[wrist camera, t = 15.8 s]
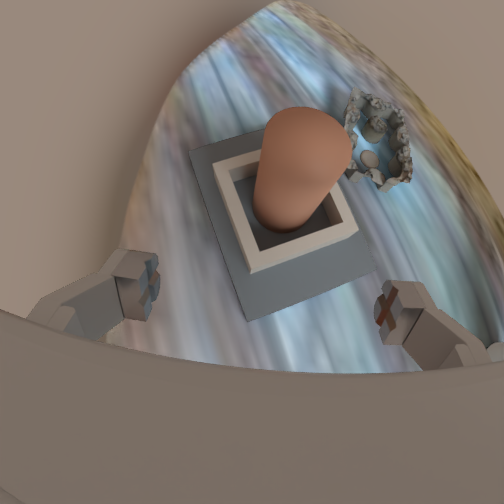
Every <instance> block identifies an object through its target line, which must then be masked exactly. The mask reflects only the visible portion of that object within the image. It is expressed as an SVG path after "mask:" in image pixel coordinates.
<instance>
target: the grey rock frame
mask: <svg viewBox="0 0 504 504" xmlns="http://www.w3.org/2000/svg"><path fill="white" fill-rule="evenodd" d="M359 110H361V111H362V112H363V114H364V116H365V117H366V118H367V119H368V120H367V122H366V124H365V126H364V127H363V129H362V136H363V137H364V139H365V140H366V141H368V142H369V143H372V144H376V143H378V142H379V141H380V139H381V138H382V137H383V136H384V134H385V133H386V132H387V131H388V129H387V125H386V124H385V122H384V121H383V120H381V119H380V118H384V119H386V120H388V123H389V125H390V126H391V127H392V128H393V129H394V130H395V131H394V133H393V134H392V135H391V137H390V138H389V140H388V143H389V146H390V148H391V149H392V150H393V151H394V152H395V153H396V155H395V156H394V157H393V158H392V159H391V160H390V162H389V163H388V168H389V171H390V173H391V174H392V175H393V176H394V177H392V178H389V179H388V180H385V176H384V174H382V173H381V172H380V171H379V170H377V169H376V168H377V167H378V165H379V159H378V157H377V155H376V154H375V153H374V152H372V151H369V150H365V151H363V152H362V153H361V155H360V159H361V161H362V163H363V164H364V165H365V166H366V167H367V168H370V169H368V170H366V172H365V173H364V174H362V173H360V172H358V171H357V170H358V167H357V165H356V162H355V160H352V158H351V161H350V163H349V165H348V167H347V168H346V170H345V172H346V174H347V177H348V180H349V181H352V182H354V183H358V182H359V180H360V179H361V178H362V177H369V178H371V180H372V181H374V182H376V184H377V187H378V190H379V191H382V192H385V193H386V192H387V191H389V190H390V189H391V188H392V187H393V186H396V185H397V184H398V183H400V182H405V183H410V180H411V179H412V176H411V175H412V172H413V171H412V170H413V169H412V164H413V163H412V157H410V148H409V134H408V130H407V128H406V124H405V122H404V117H405V116H404V113H403V110H402V109H398V110H397V109H395V108H393V107H392V106H391V103H386V102H384V101H383V100H381V99H380V98H376V97H375V96H373V95H372V94H365V93H364V92H362V91H361V90H359V89H358V88H356V87H354V88H353V90H352V92H351V95H350V98H349V101H348V105H347V107H346V109H345V111H344V118H345V125H344V129H345V131H346V132H347V134H348V136H349V138H350V141H351V145H352V152H353V150H354V149H355V147H356V146H357V138H358V135H357V134H356V133H355V132H354V131H353V128H354V127H355V125H356V123H357V121H358V120H359V118H360V111H359Z"/></svg>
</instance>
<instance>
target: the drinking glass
mask: <svg viewBox="0 0 504 504" xmlns="http://www.w3.org/2000/svg"><path fill="white" fill-rule="evenodd" d="M487 352H488V354H489V356H490V358H491V360H492V362H497V361H502V360H504V342H496V343H493V344H491V345H490V346H489V347H488V348H487Z"/></svg>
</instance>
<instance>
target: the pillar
mask: <svg viewBox="0 0 504 504" xmlns="http://www.w3.org/2000/svg"><path fill="white" fill-rule="evenodd" d="M351 157H352V145H351V141H350V138H349V136H348V134H347V132H346V131H345V129H344V128H343V127H342V125H341V124H340V123H339V122H338V121H337V120H335V119H334V118H333V117H331V116H330V115H328V114H326V113H324V112H322V111H320V110H317V109H313V108H309V107H292V108H288V109H284V110H282V111H280V112H278V113H277V114H275V115H274V116H273V117H272V118H271V119H270V120H269V122H268V123H267V125H266V128H265V132H264V137H263V143H262V148H261V154H260V160H259V166H258V172H257V178H256V183H255V189H254V195H253V201H252V207H253V212H254V215H255V217H256V219H257V220H258V222H259V223H260V224H261V225H262V226H263V227H265V228H266V229H268V230H270V231H272V232H275V233H282V234H284V233H291V232H294V231H296V230H298V229H300V228H301V227H302V226H303V225H304V224H305V223H306V222H307V220H308V219H309V218H310V216H311V215H312V214H313V212H314V211H315V210H316V208H317V207H318V206H319V204H320V203H321V202H322V200H323V199H324V198H325V196H326V195H327V194H328V193H329V191H330V190H331V189H332V187H333V186H334V185H335V183H336V182H337V181H338V179H339V178H340V176H341V175H342V174H343V172H344V171H345V170H346V168H347V167H348V165H349V163H350V161H351Z"/></svg>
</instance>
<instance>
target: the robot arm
mask: <svg viewBox="0 0 504 504" xmlns="http://www.w3.org/2000/svg"><path fill="white" fill-rule="evenodd" d="M158 264H159V263H158V256H157V255H156V253H149V252H142V251H136V250H129V249H121V248H118V249H115V251H114V252H113V253H112V254H111V256H110V257H109V258H108V259H107V261H106V262H105V263H104V265H103V266H102V267H101V269H100V270H99V271H98V273H92V274H90V275H88V276H86V277H84V278H81V279H79V280H77V281H75V282H73V283H71V284H69V285H67V286H65V287H63V288H61V289H59V290H57V291H55V292H53V293H51V294H49V295H47V296H45V297H43V298H41V299H40V301H39V302H38V303H37V305H36V306H35V307H34V309H33V310H32V311H31V313H30V314H29V315H28V317H27V318H26V319H25V318H21V317H19V316H16V315H14V314H11V313H9V312H5V311H3V310H1V309H0V504H504V360H502V361H497V362H492V360H491V358H490V356H489V354H488V352H487V350H486V348H485V346H484V345H483V343H482V341H480V340H479V339H478V338H477V337H475V336H474V335H473V334H472V333H470V332H469V331H468V330H467V329H465V328H464V327H463V326H462V325H460V324H459V323H458V322H456V321H455V320H454V319H453V318H451V317H450V316H449V315H447V314H446V313H445V312H443V311H442V310H440V309H437V307H436V305H435V303H434V302H433V300H432V298H431V296H430V295H429V293H428V291H427V289H426V288H425V286H424V284H423V283H421V282H414V281H397V280H386V281H385V282H384V284H383V286H382V288H381V289H382V292H383V294H382V295H380V296H379V297H378V298H377V300H376V302H375V305H374V319H375V322H376V323H377V324H378V325H379V326H380V329H379V334H380V337H381V340H382V343H383V345H402V347H403V348H404V349H405V350H406V351H407V352H408V354H409V355H410V356H411V357H412V358H413V359H414V360H415V362H416V363H417V364H418V365H419V366H420V367H421V368H422V370H423V371H415V372H399V373H367V374H341V373H307V372H288V371H274V370H262V369H251V368H242V367H233V366H225V365H217V364H210V363H203V362H196V361H190V360H184V359H178V358H172V357H167V356H161V355H156V354H151V353H146V352H141V351H137V350H132V349H128V348H123V347H119V346H115V345H111V344H107V343H103V342H99V341H96V340H98V339H99V338H100V337H102V336H103V335H104V334H105V333H107V332H108V331H109V330H111V329H112V328H113V327H115V326H116V325H117V324H118V323H120V322H121V321H122V320H124V318H127V319H133V320H139V321H145V322H146V321H147V319H148V317H149V314H150V312H151V310H152V304H151V303H152V302H153V301H155V300H156V299H157V296H158V294H159V289H160V274H159V273H158V272H157V271H156V268H157V266H158Z"/></svg>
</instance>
